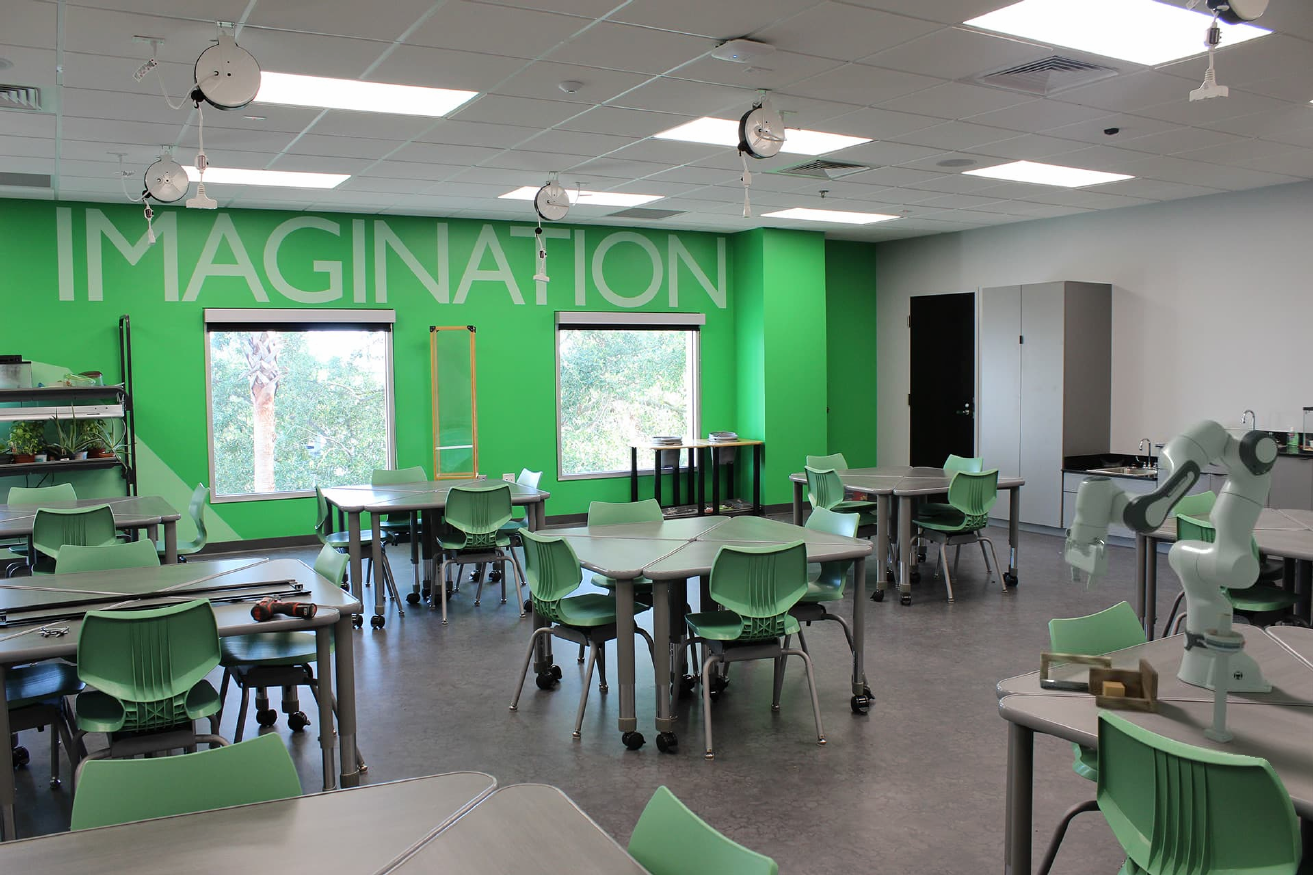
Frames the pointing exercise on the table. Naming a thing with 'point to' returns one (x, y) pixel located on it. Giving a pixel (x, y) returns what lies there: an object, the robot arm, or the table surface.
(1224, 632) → the model tower
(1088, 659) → the beech crook
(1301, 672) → the table surface
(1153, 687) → the walnut cubby
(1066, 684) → the dark metal rod
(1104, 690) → the orange cube
